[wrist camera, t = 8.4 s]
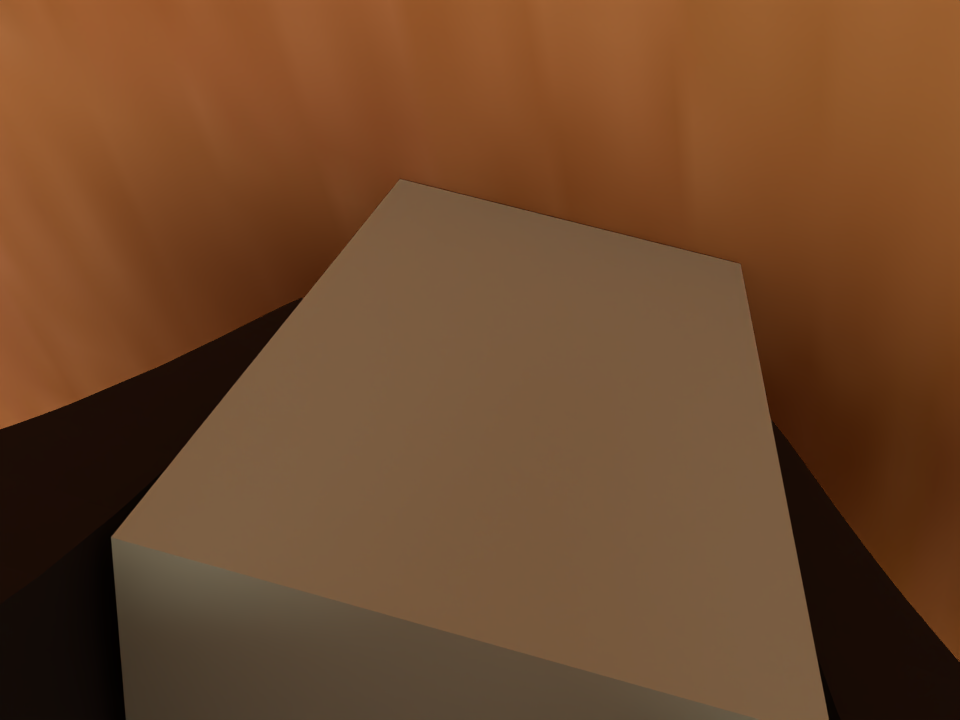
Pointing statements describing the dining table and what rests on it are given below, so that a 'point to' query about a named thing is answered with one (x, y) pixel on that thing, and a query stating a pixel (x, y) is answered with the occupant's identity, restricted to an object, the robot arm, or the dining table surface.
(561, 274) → the sage block
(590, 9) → the dining table surface
